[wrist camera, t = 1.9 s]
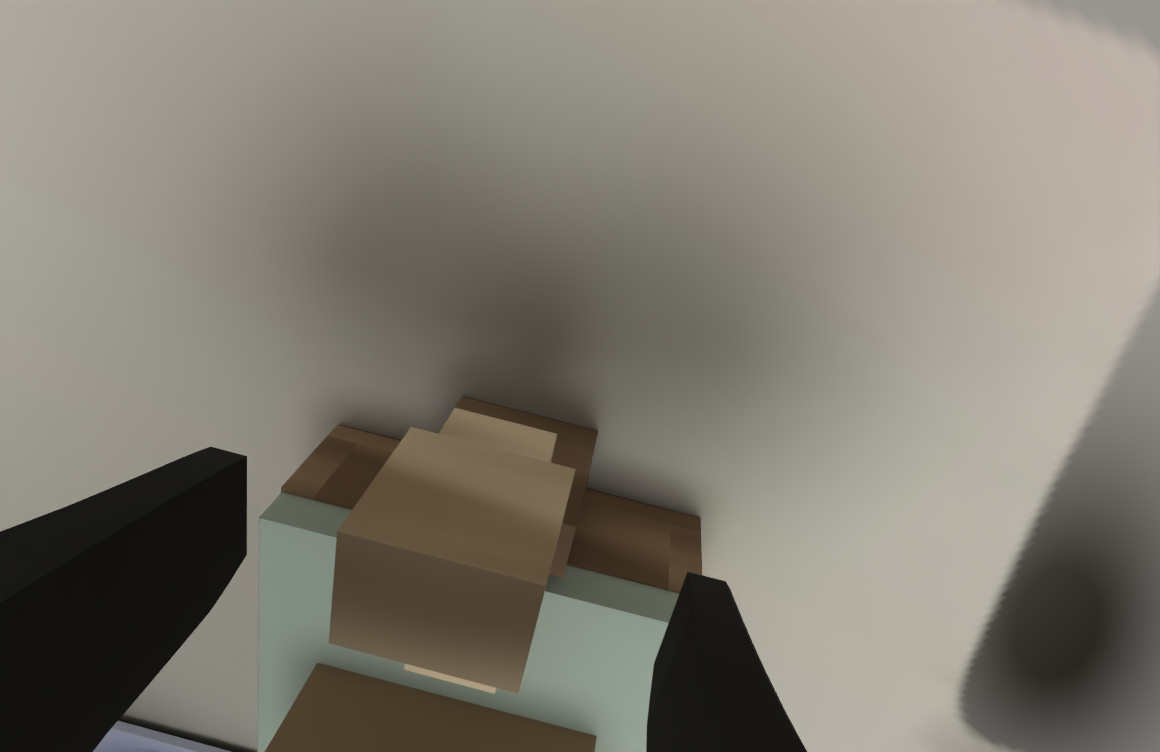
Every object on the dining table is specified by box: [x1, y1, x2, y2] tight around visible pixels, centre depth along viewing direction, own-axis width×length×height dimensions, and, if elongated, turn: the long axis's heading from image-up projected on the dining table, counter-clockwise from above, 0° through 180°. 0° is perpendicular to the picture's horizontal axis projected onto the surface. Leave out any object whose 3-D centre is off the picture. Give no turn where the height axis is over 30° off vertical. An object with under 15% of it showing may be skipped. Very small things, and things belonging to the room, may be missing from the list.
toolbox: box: [281, 397, 702, 593], centre depth 19 cm, size 13×10×4 cm
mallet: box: [329, 408, 576, 694], centre depth 13 cm, size 6×3×4 cm, turn 168°
